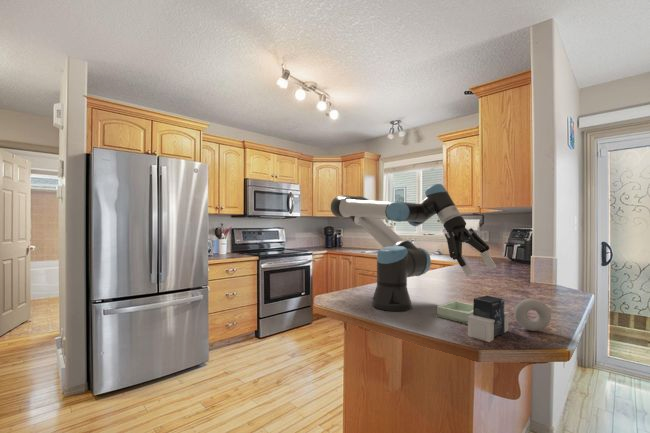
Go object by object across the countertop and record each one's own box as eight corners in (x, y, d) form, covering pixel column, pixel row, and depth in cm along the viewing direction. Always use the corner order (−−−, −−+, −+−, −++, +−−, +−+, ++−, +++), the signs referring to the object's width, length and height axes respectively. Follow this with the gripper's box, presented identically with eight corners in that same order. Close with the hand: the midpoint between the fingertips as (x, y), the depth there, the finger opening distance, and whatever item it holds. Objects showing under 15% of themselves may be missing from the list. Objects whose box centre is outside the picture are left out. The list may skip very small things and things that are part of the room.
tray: (437, 316, 109) (437, 306, 109) (454, 310, 118) (454, 300, 118) (468, 324, 101) (468, 313, 101) (484, 316, 109) (484, 306, 110)
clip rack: (466, 336, 90) (466, 317, 90) (487, 325, 100) (487, 307, 101) (489, 342, 85) (489, 322, 85) (509, 330, 96) (509, 312, 96)
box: (491, 339, 88) (491, 302, 89) (472, 333, 93) (472, 297, 93) (504, 333, 93) (505, 298, 93) (486, 328, 97) (486, 294, 98)
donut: (516, 331, 95) (516, 298, 95) (512, 327, 98) (512, 296, 98) (553, 334, 93) (553, 301, 93) (547, 330, 96) (547, 298, 96)
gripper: (436, 217, 108) (468, 272, 99) (479, 212, 121) (510, 261, 112) (423, 227, 114) (451, 281, 105) (464, 222, 126) (493, 270, 117)
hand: (482, 271), depth 108 cm, fingers open, 13 cm apart
